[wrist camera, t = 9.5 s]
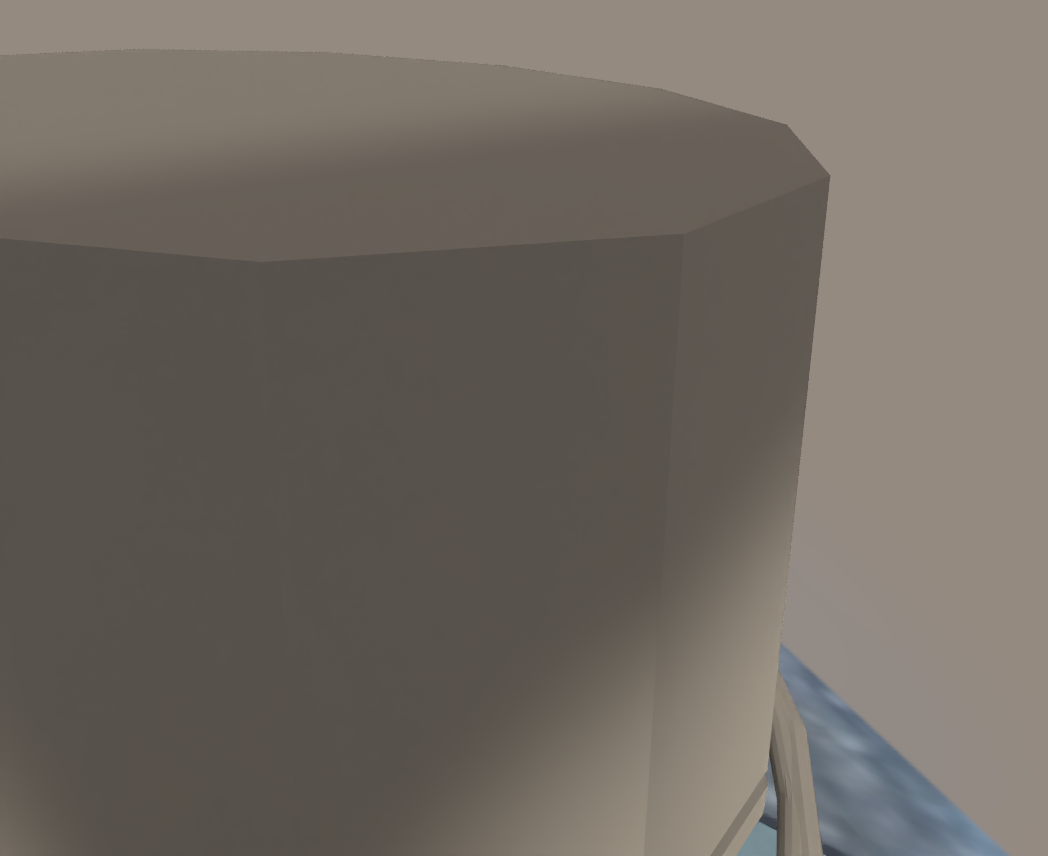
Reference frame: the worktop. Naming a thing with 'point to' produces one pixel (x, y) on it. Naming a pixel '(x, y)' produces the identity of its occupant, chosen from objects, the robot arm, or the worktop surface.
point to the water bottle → (396, 459)
